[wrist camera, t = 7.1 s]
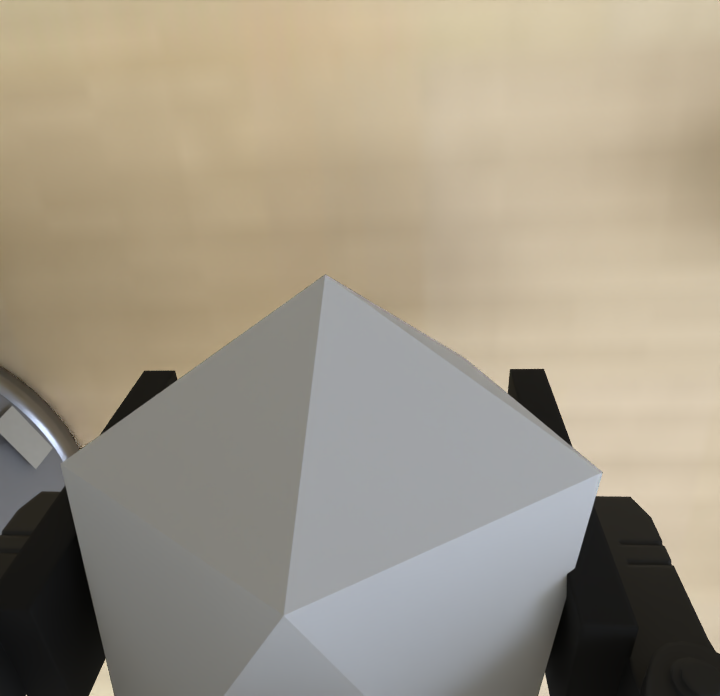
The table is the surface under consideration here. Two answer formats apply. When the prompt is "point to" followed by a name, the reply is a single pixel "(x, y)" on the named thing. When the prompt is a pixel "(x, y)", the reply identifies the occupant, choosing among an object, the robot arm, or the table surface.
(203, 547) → the die
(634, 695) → the robot arm
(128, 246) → the table surface
